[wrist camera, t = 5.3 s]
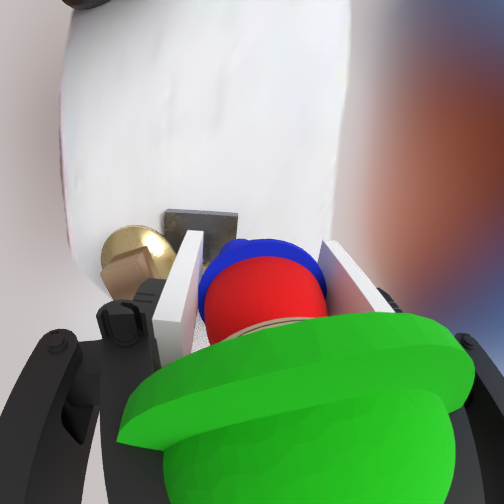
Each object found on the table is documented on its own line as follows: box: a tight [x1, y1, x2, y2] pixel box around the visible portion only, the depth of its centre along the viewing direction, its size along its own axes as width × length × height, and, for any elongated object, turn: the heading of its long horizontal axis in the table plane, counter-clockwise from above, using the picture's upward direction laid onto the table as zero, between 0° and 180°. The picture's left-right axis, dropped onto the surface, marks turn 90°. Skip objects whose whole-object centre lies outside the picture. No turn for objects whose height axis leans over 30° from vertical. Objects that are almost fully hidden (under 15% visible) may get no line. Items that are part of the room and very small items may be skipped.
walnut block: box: [100, 246, 161, 301], centre depth 31 cm, size 5×5×5 cm
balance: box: [101, 209, 238, 279], centre depth 35 cm, size 12×26×11 cm, turn 84°
